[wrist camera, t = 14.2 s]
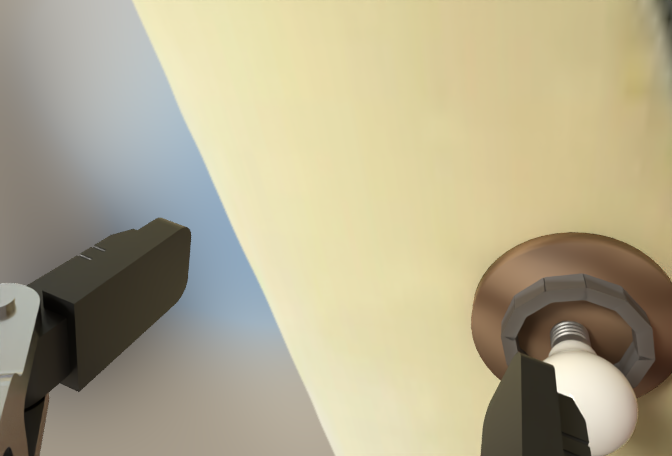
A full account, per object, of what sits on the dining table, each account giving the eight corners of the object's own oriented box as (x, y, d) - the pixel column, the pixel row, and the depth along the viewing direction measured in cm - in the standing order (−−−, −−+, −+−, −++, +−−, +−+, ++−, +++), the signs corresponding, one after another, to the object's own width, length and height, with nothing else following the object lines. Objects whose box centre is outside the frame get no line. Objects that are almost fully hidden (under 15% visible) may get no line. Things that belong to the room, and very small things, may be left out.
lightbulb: (632, 315, 36) (673, 429, 27) (588, 376, 39) (611, 497, 30) (546, 282, 37) (557, 380, 28) (510, 343, 40) (509, 451, 31)
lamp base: (512, 205, 38) (511, 227, 34) (723, 273, 35) (746, 304, 32) (449, 351, 45) (444, 381, 42) (621, 417, 42) (630, 454, 39)
